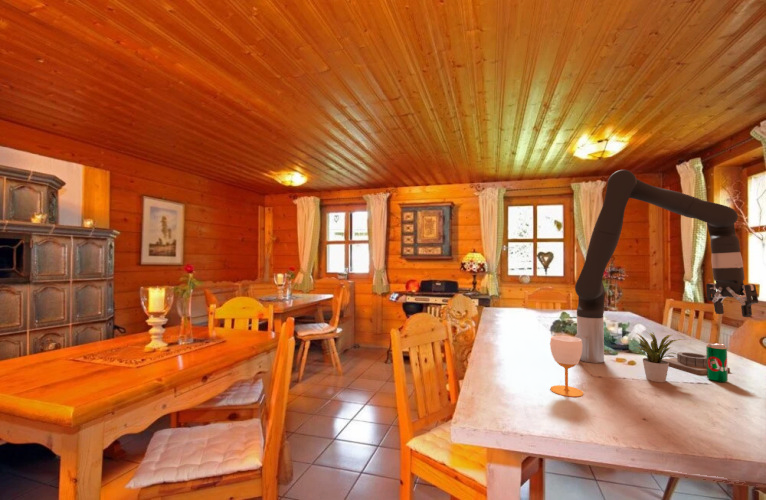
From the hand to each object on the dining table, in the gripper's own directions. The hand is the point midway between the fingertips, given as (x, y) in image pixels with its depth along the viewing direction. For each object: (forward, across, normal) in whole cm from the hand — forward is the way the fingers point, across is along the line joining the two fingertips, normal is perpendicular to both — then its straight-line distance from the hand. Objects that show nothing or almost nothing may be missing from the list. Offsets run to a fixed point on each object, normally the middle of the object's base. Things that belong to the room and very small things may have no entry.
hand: (732, 315), depth 118 cm
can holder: (+21, -16, -1) cm, 26 cm away
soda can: (+22, -2, -6) cm, 22 cm away
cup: (+19, +4, -62) cm, 64 cm away
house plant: (+20, -4, -24) cm, 32 cm away
